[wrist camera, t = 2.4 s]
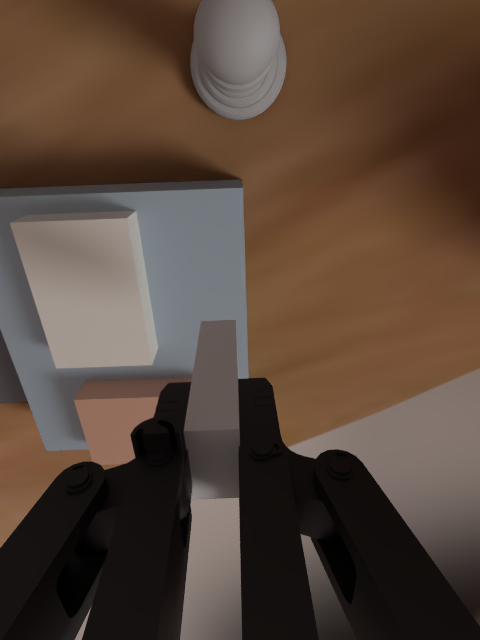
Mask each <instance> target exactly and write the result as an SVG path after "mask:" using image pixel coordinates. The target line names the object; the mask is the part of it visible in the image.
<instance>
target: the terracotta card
mask: <svg viewBox="0 0 480 640" xmlns="http://www.w3.org/2000/svg"><path fill="white" fill-rule="evenodd" d="M175 382H192V378H168V379H140V380H112V381H85V382H84V384H83V385H82V387H81V389H80V390H79V392H78V394H77V395H76V397H75V399H74V402H75V406H76V409H77V412H78V416H79V419H80V422H81V425H82V429H83V432H84V435H85V438H86V442H87V445H88V448H89V451H90V455H91V458H92V461H93V462H95V463H98V464H100V465H107V464H125V463H128V462H130V461H131V460H133V459H135V454H134V450H133V445H132V441H131V436H130V434H131V433H132V431H133V429H134V428H135V427H136V426H137V425H139V424H140V423H141V422H143V421H145V420H147V419H150V418H153V417H154V413H155V410H156V406H157V404H158V399H159V395H160V392H161V391H162V389H163V388H164V387H165V386H166V385H167V384H168V383H175Z"/></svg>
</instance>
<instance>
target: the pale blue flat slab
mask: <svg viewBox="0 0 480 640" xmlns="http://www.w3.org/2000/svg"><path fill="white" fill-rule="evenodd" d="M116 211H136V213H137V219H138V226H139V232H140V238H141V244H142V250H143V257H144V263H145V269H146V275H147V282H148V288H149V294H150V300H151V307H152V313H153V319H154V325H155V332H156V338H157V344H158V350H157V353H156V356H155V359H154V361H153V364H152V365H143V366H114V367H86V368H58V369H56V367H55V364H54V361H53V357H52V354H51V351H50V348H49V345H48V342H47V339H46V335H45V332H44V329H43V326H42V323H41V320H40V317H39V313H38V310H37V307H36V304H35V301H34V298H33V295H32V292H31V288H30V285H29V282H28V279H27V276H26V273H25V270H24V266H23V263H22V260H21V257H20V254H19V251H18V248H17V244H16V241H15V238H14V235H13V232H12V229H11V226H10V222H12V221H15V220H17V219H20V218H22V217H25V216H27V215H37V214H63V213H89V212H116ZM217 320H236V333H237V355H238V379H247V378H249V377H248V343H247V309H246V275H245V241H244V207H243V185H242V179H236V180H210V181H184V182H158V183H132V184H106V185H80V186H54V187H28V188H2V189H0V329H1V332H2V335H3V337H4V340H5V343H6V345H7V348H8V351H9V353H10V356H11V358H12V361H13V364H14V366H15V369H16V372H17V374H18V377H19V379H20V382H21V385H22V387H23V390H24V393H25V395H26V398H27V401H28V403H29V406H30V408H31V411H32V414H33V416H34V419H35V422H36V424H37V427H38V430H39V432H40V435H41V437H42V440H43V443H44V445H45V448H46V451H55V450H85V449H89V448H88V445H87V442H86V438H85V435H84V432H83V429H82V425H81V422H80V419H79V416H78V412H77V409H76V406H75V402H74V399H75V397H76V395H77V394H78V392H79V390H80V389H81V387H82V385H83V384H84V382H85V381H112V380H140V379H168V378H192V375H193V369H194V363H195V356H196V350H197V344H198V337H199V331H200V325H201V321H217Z"/></svg>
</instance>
